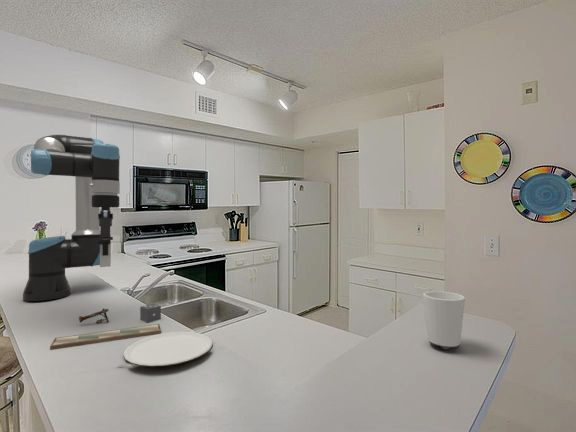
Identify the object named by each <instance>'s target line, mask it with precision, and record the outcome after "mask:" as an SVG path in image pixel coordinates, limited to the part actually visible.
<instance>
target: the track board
mask: <svg viewBox="0 0 576 432" xmlns="http://www.w3.org/2000/svg"><path fill="white" fill-rule="evenodd" d="M158 334H162V329H161V325H160V323H157V324H148V325H141V326H140V325H139V326H131V327H126V328H119V329H118V328H117V329H111V330H104V331H96V332H89V333H82V334H75V335H74V334H73V335H67V336H61V337H60V336H59V337H58V336H57V337H55V338H54V339H53V340H52V343H51V344H50V346H49V350H51V351H52V350H58V349H64V348H65V349H66V348H69V347H71V348H72V347H78V346H83V345H91V344H98V343H104V342H109V341H110V342H111V341H117V340H125V339H126V340H127V339H131V338H139V337H145V336H153V335H158Z"/></svg>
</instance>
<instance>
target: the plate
mask: <svg viewBox="0 0 576 432" xmlns="http://www.w3.org/2000/svg"><path fill="white" fill-rule="evenodd" d="M212 346H213V341H212V339H211V337H209V336H208V335H206V334H204V333H200V332H192V331H171V332H163V333H160V334H153V335H149V336H147V337H144V338H142V339H138V340H136V341H135V342H133V343H132V344H130V345H128V347H127V348H126V349H125V350H124V352H123V357H124V360H125V361H127V362H128V363H129V364H131V365H134V366H139V367H147V368H155V367H156V368H158V367H168V366H175V365H181V364H185V363H188V362H191V361H194V360H196V359H198V358H200V357H202V356H204V355H206V354H207V353H208V352H209V351H210V350H211V349H212Z"/></svg>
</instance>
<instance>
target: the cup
mask: <svg viewBox="0 0 576 432" xmlns="http://www.w3.org/2000/svg"><path fill="white" fill-rule="evenodd" d="M422 299H423V300H422V301H423V307H424V317H425V318H424V319H425V328H426V337H427V340H428V343H429V344H430V346H433V347H436V346H439V347H440V348H441V349H443V350H449V348H452V349H459V348H460V346H461V339H462V332H463V331H462V330H463V320H464V313H465V312H464V310H465V301H466V297H465V296H464V295H462V294H460V293H456V292H452V291H451V292H450V291H442V290H441V291H440V290H439V291H438V290H432V291H426V292H423V293H422Z"/></svg>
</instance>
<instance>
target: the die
mask: <svg viewBox="0 0 576 432" xmlns="http://www.w3.org/2000/svg"><path fill="white" fill-rule="evenodd" d="M139 309H140V310H139V311H140V314H139V315H140V316H139V317H140V318H139V319H140V321H142V322H144V323H147V324H149V323H152V322H155V321H158V320H161V319H162V313H161V312H162V308H161V305H159V304H156V303H151V304H146V305H141V306H140V307H139Z"/></svg>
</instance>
